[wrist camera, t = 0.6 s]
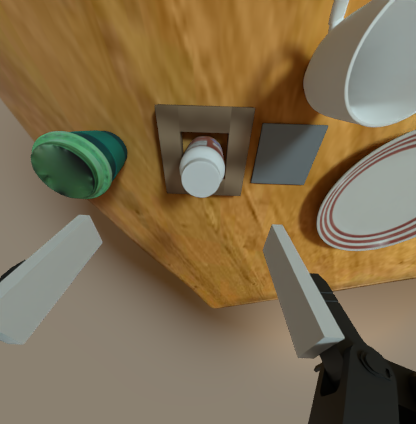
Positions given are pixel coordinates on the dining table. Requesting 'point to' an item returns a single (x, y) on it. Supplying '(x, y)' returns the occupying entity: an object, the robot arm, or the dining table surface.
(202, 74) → the dining table surface
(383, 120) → the mug
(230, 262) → the dining table surface
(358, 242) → the dinner plate
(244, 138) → the collar
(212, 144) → the pill bottle
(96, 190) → the cup
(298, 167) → the coaster
